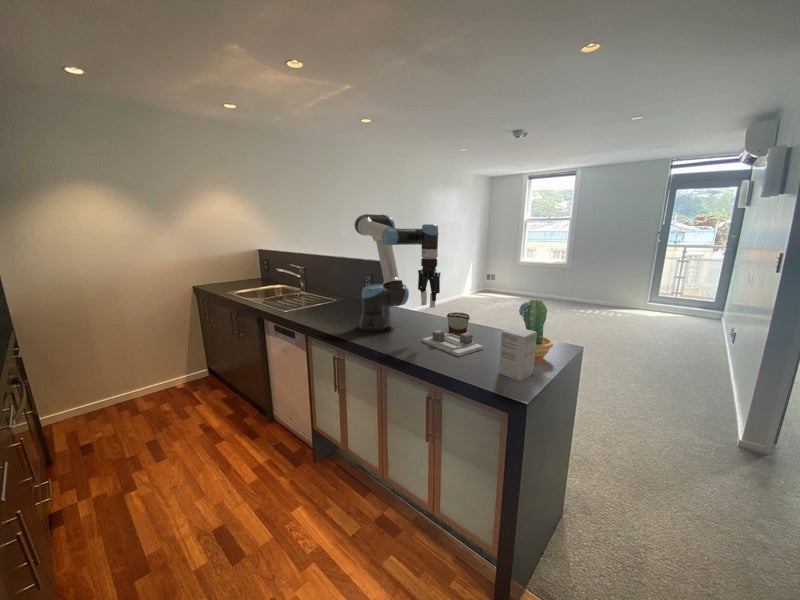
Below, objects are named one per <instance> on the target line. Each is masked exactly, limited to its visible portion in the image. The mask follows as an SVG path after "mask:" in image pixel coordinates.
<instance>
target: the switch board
mask: <svg viewBox="0 0 800 600" xmlns="http://www.w3.org/2000/svg"><path fill="white" fill-rule="evenodd" d="M444 333H445V338H444V341H442V342H438V341H435V340H433V339H432V337H433V335H431V336H427V337H424V338H422V343H425V344H428V345H430V346H432V347H435V348H437V349H439V350H442V351H444V352H446V353H449V354H451V355H454V356H456V357H462V356H465V355H468V354H472V353H474V352H477V351H482V350H484V345H482V344H478V343H476V341H473V340H472V343H468V344H464V343H462V342H460V335H456V334H455V333H449V332H444Z"/></svg>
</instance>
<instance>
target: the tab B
mask: <svg viewBox="0 0 800 600" xmlns="http://www.w3.org/2000/svg"><path fill="white" fill-rule="evenodd" d="M459 337H460V342H462V343H464V344H468V343H472V341H473V334H470V332H467V333H464V334H459Z"/></svg>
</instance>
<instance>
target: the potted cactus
mask: <svg viewBox="0 0 800 600" xmlns="http://www.w3.org/2000/svg"><path fill="white" fill-rule="evenodd" d="M518 312H519V315H520V316H521V317H522V319H523V323H524V325H525V329H527V330H531V331H535V332H537V337H536V348H535V359H534V363H537V362H543V361H544V359H545V358H544V357H545V356H546V355H548V354H549V351H550V349H551V348H553V346H554V340H553V339H551V338H549V337H547V336H544V325H545V322H546V321H547V320H546V319H547V314H548V310H547V307H546V305H545V303H544V302H543V301H542V299H540V300H539V299H538V298H537V299H533V298H532V299H530V300H529V301H526V302H523V303H522V304H521V305H520V306H519V310H518Z"/></svg>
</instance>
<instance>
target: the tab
mask: <svg viewBox="0 0 800 600" xmlns="http://www.w3.org/2000/svg"><path fill="white" fill-rule="evenodd" d="M445 333H446V332H444V331H443V330H442V329H441V330H435V331H432V336H433V337H432V339H433V340H435V341H438V342H442V341H444V338H445Z"/></svg>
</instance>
